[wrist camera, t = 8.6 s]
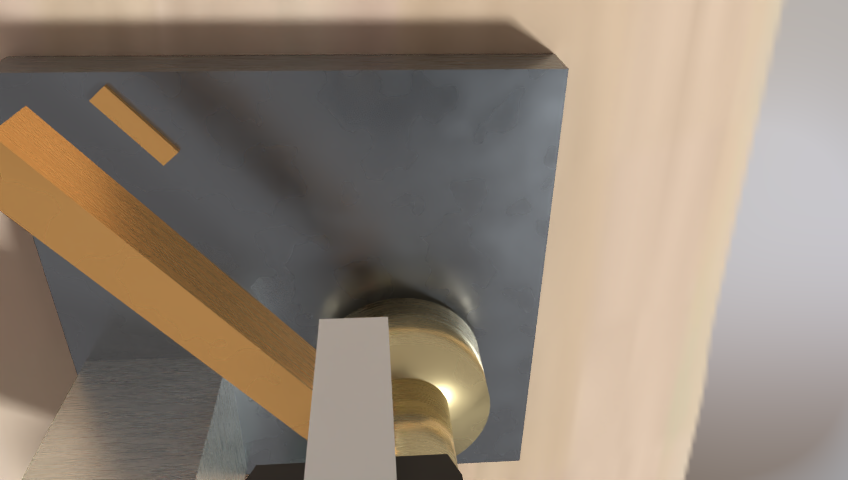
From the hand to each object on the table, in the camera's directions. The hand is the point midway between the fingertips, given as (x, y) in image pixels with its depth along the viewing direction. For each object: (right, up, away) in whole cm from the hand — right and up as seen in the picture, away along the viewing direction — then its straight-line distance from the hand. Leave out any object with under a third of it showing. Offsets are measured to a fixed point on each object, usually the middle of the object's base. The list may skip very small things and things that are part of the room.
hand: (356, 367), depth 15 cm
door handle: (-4, +2, +12) cm, 12 cm away
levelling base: (-4, +1, +15) cm, 15 cm away
